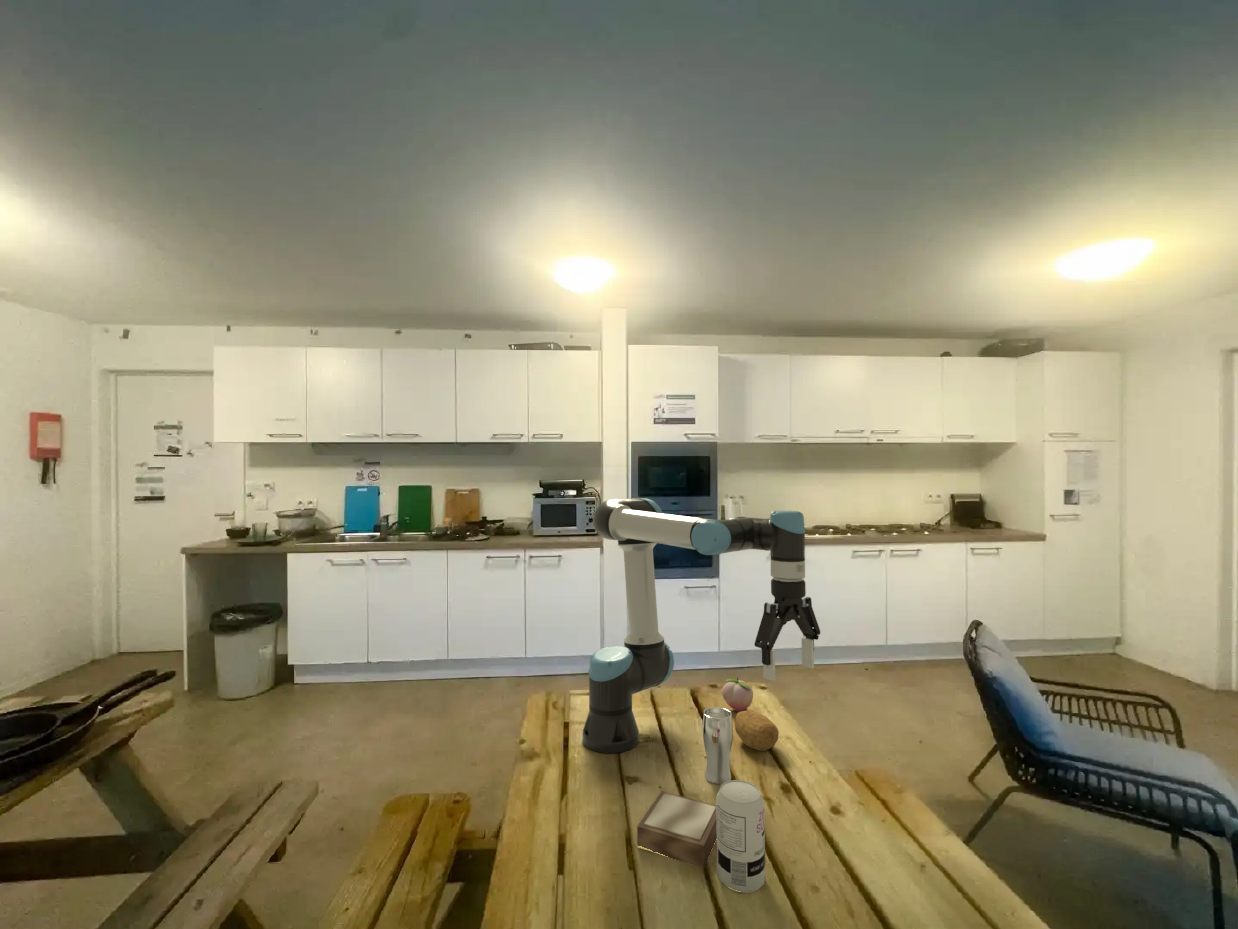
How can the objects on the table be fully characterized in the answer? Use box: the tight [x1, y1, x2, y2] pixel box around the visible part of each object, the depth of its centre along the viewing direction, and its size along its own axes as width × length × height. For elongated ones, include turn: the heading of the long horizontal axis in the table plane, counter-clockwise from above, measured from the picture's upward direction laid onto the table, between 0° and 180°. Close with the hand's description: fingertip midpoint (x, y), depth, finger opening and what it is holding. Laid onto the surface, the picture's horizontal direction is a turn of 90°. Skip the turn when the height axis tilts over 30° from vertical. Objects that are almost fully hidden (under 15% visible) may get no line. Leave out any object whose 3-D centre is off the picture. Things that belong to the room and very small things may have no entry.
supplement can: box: [715, 779, 766, 894], centre depth 95 cm, size 8×8×15 cm
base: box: [636, 790, 717, 869], centre depth 105 cm, size 13×13×4 cm
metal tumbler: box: [702, 706, 734, 785], centre depth 127 cm, size 7×7×15 cm
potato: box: [734, 709, 780, 752], centre depth 142 cm, size 10×14×8 cm
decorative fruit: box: [721, 677, 754, 712], centre depth 164 cm, size 9×8×10 cm
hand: (789, 673), depth 123 cm, fingers open, 13 cm apart
